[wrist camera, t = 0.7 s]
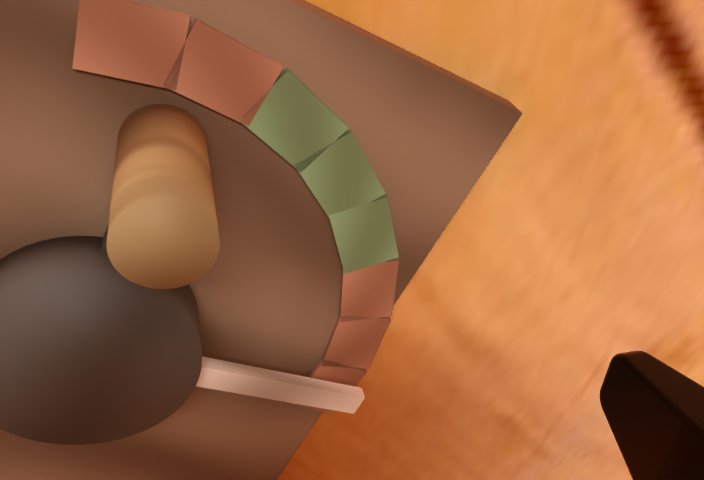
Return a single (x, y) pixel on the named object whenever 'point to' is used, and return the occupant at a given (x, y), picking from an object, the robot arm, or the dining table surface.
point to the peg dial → (128, 304)
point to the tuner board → (241, 194)
